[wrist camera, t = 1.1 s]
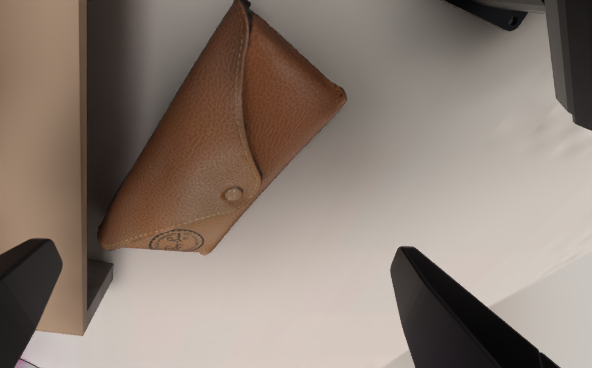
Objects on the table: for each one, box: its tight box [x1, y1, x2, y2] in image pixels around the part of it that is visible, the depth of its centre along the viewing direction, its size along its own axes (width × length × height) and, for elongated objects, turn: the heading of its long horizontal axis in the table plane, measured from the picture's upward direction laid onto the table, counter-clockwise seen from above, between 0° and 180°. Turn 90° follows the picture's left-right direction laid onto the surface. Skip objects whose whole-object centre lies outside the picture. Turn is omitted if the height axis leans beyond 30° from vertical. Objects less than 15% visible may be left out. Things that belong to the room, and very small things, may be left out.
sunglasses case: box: [97, 0, 347, 255], centre depth 20 cm, size 18×7×7 cm
